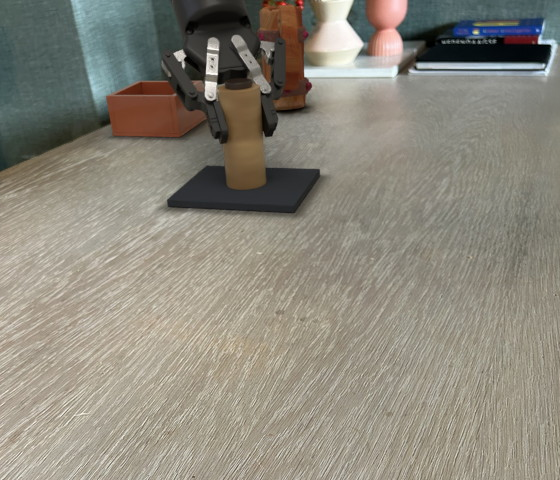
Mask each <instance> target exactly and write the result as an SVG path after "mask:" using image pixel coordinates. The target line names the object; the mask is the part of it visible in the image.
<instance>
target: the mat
mask: <svg viewBox="0 0 560 480" xmlns="http://www.w3.org/2000/svg"><path fill="white" fill-rule="evenodd" d="M265 169H266V184H265V185H263V186H262V187H259V188H255V189H249V190H236V189H232V188H229V187H228V186H227V183H226V173H225V165H205V166H204V167H203V168H202V169H201V170H200V171H198V172H197V173H196V174H195V175H194V176H193V177H191V178H190V179H189V180H188V181H187V182H185V184H183V185H182V186H181V187H180V188H179V189H177V190H176V191H175V192H174V193H173V194H171V195H170V196H169V197H167V199H166V205H167V207H169V208H192V209H211V210H229V211H230V210H232V211H252V212H275V213H291V214H292V213H295V212H296V211H297V209H298V208H299V206H300V205H301V203H302V202H303V201H304V199H305V197H306V196H307V195H308V193H309V192H310V190H312V188H313V186H314V185H315V183H316V182H317V181H318V179H319V178H320V176H321V169H320V168H302V167H301V168H299V167H267V166H265Z"/></svg>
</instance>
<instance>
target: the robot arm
mask: <svg viewBox="0 0 560 480" xmlns="http://www.w3.org/2000/svg"><path fill="white" fill-rule="evenodd" d="M169 3H170V5H171V6H172V8H173V12H174V15H175V19H176V23H177V26H178V30H179V33H180V36H181V40H182V43H183V44H182V49H180V50H176V51H174V52H173V51H172V50H171V49H164V50H163V51H162V52H161V66H160V67H161V69H160V70H161V74H162V75H163V76H164V78H165V79H166V81H168V82H169V84H170V85H171V87H172V88H173V90H174V92H175V93H176V95H177V96H178V98H179V99H180V101H181V102H182V104H183V105H184V107H185V109H186V110H188V111H194V110H195V109H196V110H201V111H203V112H204V113H205V115H206V122H207V125H208V129H209V132H210V136H211V137H212V138H213V140H218V143H219V145H223V144H225V143H227V141H228V136H229V132H228V128H227V124H226V121H225V118H224V114H223V111H222V107H221V104H220V102H219V101H218V99H217V97H218V93H217V88H218V86H219V85H220V86H222V85H225V83H224V82H225V81H226V80H229V79H235V78H248V79H251V80H252V83H256V84H259V85H260V93H261V108H262V123H263V136H264V138H272V137H273V136H274V133H275V132H276V131H277V130H276V129H277V127H278V124H279V116H278V112H277V110H276V109H275V106H274V103H273V100H279V99H280V98H281V95H282V91H283V88H284V86H285V83H286V41H285V40H284V39H283V38H281V37H278V38H276V39H275V42H267V41H260V38H259V36H258V35H257V34H256V33H257V32H255V31H254V30H253V27H252V23H251V19H250V16H249V12H248V10H247V7H246V6H247V5H246V3H245V0H169ZM259 54H260V55H261V56H262V55H263V56H264V58H265V61H266V63H267V65H268V66H270V65H271V74H270V83H268V82H267V80H266V79H265V77H264V76H263V70H262V67H261V66H260V64H259V62H258V61H257V58H258V56H259ZM186 64H187V65H188V66H189V67H191V68H192V69H193V70H194V71H195V72H196V73H198V74H199V75H200V76H201V77H203V92H200V91H197V89H196V87H195V86H194V84H193V83H192V81H193V80H191V77H189V75H188V73H187V71H186V70H185V69H186Z"/></svg>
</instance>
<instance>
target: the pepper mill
mask: <svg viewBox="0 0 560 480" xmlns="http://www.w3.org/2000/svg"><path fill="white" fill-rule="evenodd" d="M217 101H219V102H220V104H221V107H222V111H223V114H224V118H225V121H226V124H227V128H228V132H229V136H228V141H227V143H225V144H222V151H223V163H224V166H225V173H226V183H227V186H228V187H229V188H232V189H236V190H249V189H255V188H259V187H262V186H263V185H265V184H266V169H265V167H266V156H265V140H264V138H265V137H264V132H263V123H262V108H261V93H260V85H259V84H256V83H252V80H251V79H248V78H235V79H229V80H226V81H225V82H224V84H222V85H220V86H217Z"/></svg>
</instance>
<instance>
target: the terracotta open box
mask: <svg viewBox="0 0 560 480" xmlns="http://www.w3.org/2000/svg"><path fill="white" fill-rule="evenodd" d="M191 81H192V83H193V84H194V86H195V87H196V89H197V91H200V92H203V89H204V82H203V80H191ZM105 100H106V104H107V110H108V116H109V120H110V126H111V133H112V136H113V137H148V138H149V137H151V138H153V137H154V138H155V137H156V138H157V137H158V138H181V137H183V136H184V135H185V134H187V133H188V132H190V131H191V130H193V129H194V128H195V127H197V126H198V125H200V124H201V123H202V122H204V121H206V120H207V118H206V115H205V113H204V112H203V111H201V110H196V109H195V110H194V111H188V110H186V109H185V107H184V105H183V104H182V102H181V101H180V99H179V98H178V96H177V95H176V93H175V92H174V90H173V88H172V87H171V85H170V84H169V82H168V81H167V80H137V81H135V82H133V83H131V84H128V85H127V86H125V87H122V88H120V89H118V90H116V91H114V92H111V93H109V94H107V95H106V96H105Z"/></svg>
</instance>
